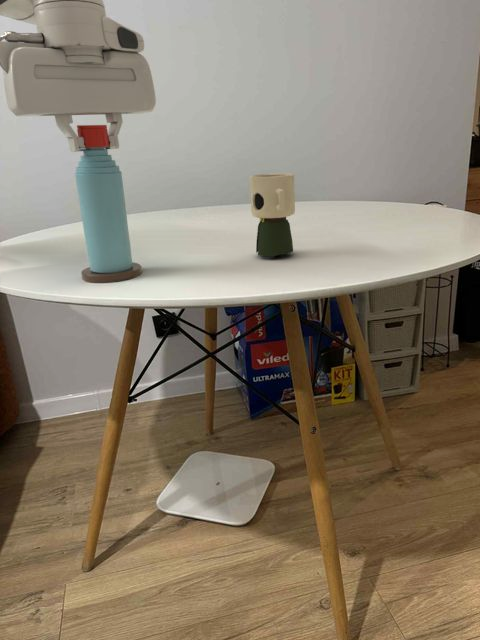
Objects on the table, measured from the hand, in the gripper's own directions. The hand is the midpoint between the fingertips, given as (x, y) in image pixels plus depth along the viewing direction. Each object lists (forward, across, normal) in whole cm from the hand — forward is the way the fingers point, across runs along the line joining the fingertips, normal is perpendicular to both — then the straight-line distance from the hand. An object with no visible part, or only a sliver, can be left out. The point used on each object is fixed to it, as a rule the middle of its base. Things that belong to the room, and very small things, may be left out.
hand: (95, 150), depth 71 cm
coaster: (+18, -1, +1) cm, 18 cm away
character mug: (+19, +24, -11) cm, 32 cm away
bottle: (+17, 0, +1) cm, 17 cm away
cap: (-3, 0, 0) cm, 3 cm away
